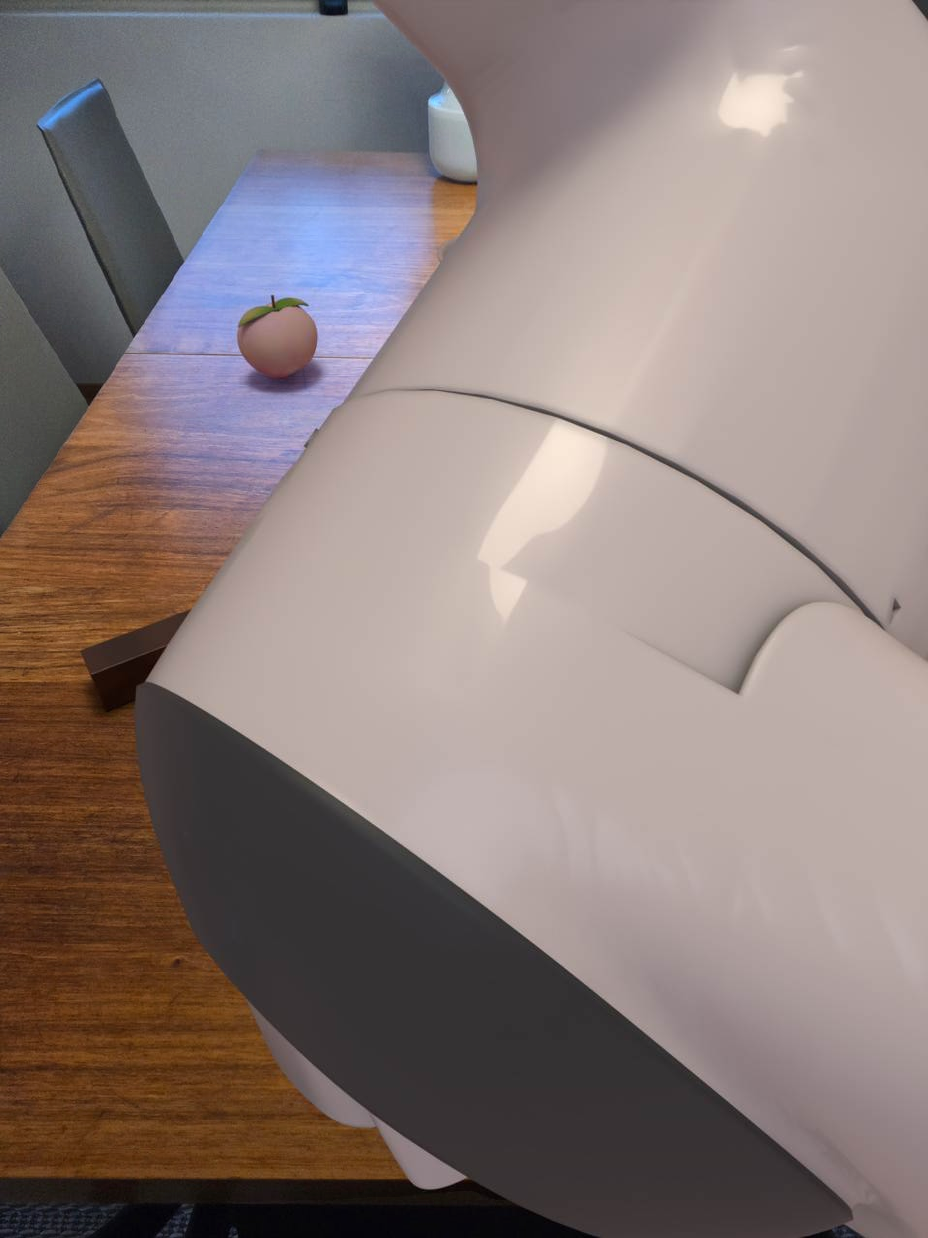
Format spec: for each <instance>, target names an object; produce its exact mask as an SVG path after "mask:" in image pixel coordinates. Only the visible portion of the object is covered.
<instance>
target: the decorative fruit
mask: <svg viewBox="0 0 928 1238" xmlns="http://www.w3.org/2000/svg"><path fill="white" fill-rule="evenodd" d="M270 299H271V302H269V303H266V305H259V306H254V307H251V308H250V309H248V310H247V311H245V313H244V314H243V315H242V317H241V318H240V320H239V322H238V325H237V328H238V329H237V331H236V332H237V333H236V342H237V345H238V349H239V352H240V354H241V355H242V357H243V359H244V360H245V361H246V363H247V364H248V365H250V366H251V368H253V369H254V370H256V371H257V372H258V373H260V374H263V375H264V376H267V377H270V378H275V379H287V377H288V376H290V375H292V374H294V373H297V372H299V371H300V370H302V369H303V368H305V367H306V366H307V365H308V364H310V362H311V361H312V359H313V358H314V356H315V354H316V351H317V347H318V340H319V339H318V338H319V337H318V328H317V326H316V325H317V324H316V323H315V321H314V319H313V318H312V317H311V316H310V314H309V313H308V312H307V311H306V310H305V309H303V308H302V306H304V307H310V305H309V304H308V303H307V302H306V301H304V300H302V299H300V298H297V297H283V298H280V299H278V300H275V295H274V294H271V295H270Z"/></svg>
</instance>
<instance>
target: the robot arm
mask: <svg viewBox="0 0 928 1238" xmlns="http://www.w3.org/2000/svg"><path fill="white" fill-rule="evenodd" d="M370 2H371V3H372V4H373V5H374V6H375V7H376V8H377V9H378V10H379V11H380V13H382V15H383V16H384V17H386V19H387V20H388V21H389V22H390V23H391V24H392V25H393V26H394V27H395V29H396V30H397V31H398V32H399V33H400V34H401V35H402V36H403V37H404V38H405V39H406V40H407V41H408V42H409V43H410V44H411V46H413V48H414V49H415V50H416V51H417V52H418V53H419V54H420V55H421V56H422V57H423V58H424V59H425V60H426V62H427V63H429V64H430V65H431V66H432V68H433V69H434V70H435V71H436V72H437V74H438V75H439V76H440V77H441V78H442V79H443V80H444V82H445V83H446V85H447V86H448V88H449V89H450V90H451V91H452V93H453V95H454V97H455V99H456V101H457V102H458V105H460V108H461V110H462V113H463V115H464V117H465V119H466V123H467V125H468V128H469V132H470V136H471V139H472V145H473V150H474V155H475V162H476V176H477V177H476V180H477V182H476V184H477V187H476V195H475V208H474V212H473V214H472V216H471V218H470V219H469V221H468V222H467V224H466V225H465V226H464V228H463V229H462V231H461V233H460V234H459V235H458V236H459V237H458V236H457V237H458V238H457V240H456V241H455V243H454V244H453V245H452V247H451V248H450V250H449V251H448V253H447V254H446V255H445V257H444V258H443V260H442V261H441V263H440V262H439V264H438V266H437V267H436V268H435V270H434V271H433V273H432V274H431V275H430V277H429V278H428V280H427V281H426V283H425V284H424V286H423V287H422V288H421V290H420V292H419V293H418V294H417V296H416V297H415V298H414V300H413V301H412V303H411V304H410V305H409V307H408V309H407V310H406V311H405V313H404V314H403V315H402V317H401V318H400V320H399V321H398V323H397V324H396V326H395V327H394V329H393V330H392V331H391V333H390V334H389V336H388V337H387V339H386V340H385V341H384V343H383V344H382V345H381V347H380V349H379V350H378V352H377V353H376V355H375V356H373V358H372V361H371V362H370V363H369V365H368V366H367V367H366V368H365V370H364V372H362V374H361V376H360V378H359V379H358V380H357V381H356V383H355V384H354V386H353V388H352V389H351V390H350V391H349V393H348V394H347V396H346V398H344V400H343V402H341V404H340V405H338V406H336V407H334V408H333V409H332V410H331V411H330V413H329V414H328V415H327V417H326V418H325V420H324V421H323V423H322V424H321V426H320V427H319V429H318V428H317V427H316V428H315V429H314V431H313V432H312V433H311V435H310V436H309V437H308V439H307V441H306V442H305V443H304V445H303V447H304V448H305V449H304V450H303V451H302V453H301V454H300V455H299V457H298V459H297V460H296V461H295V462H294V463H292V465H291V466H290V467H289V469H288V470H287V471H286V473H285V474H284V475H283V476H282V478H281V479H280V480H279V482H278V483H277V484H276V485H275V488H274V489H273V490H272V491H271V493H270V494H269V496H268V497H267V499H266V501H264V503H263V505H262V506H261V508H260V509H259V510H258V512H257V513H256V515H255V516H254V518H252V520H251V522H250V524H249V525H248V527H247V528H246V530H245V531H244V533H243V534H242V535H241V537H240V538H239V540H238V541H237V542H236V544H235V546H234V547H233V548H232V550H231V551H230V553H229V554H228V556H227V557H226V558H225V560H224V561H223V563H222V565H220V567H219V569H218V570H217V572H216V573H215V574H214V576H213V577H212V579H211V580H210V582H209V583H208V584H207V586H206V587H205V589H204V590H203V592H202V593H201V594H200V596H199V598H197V600H196V601H195V603H194V604H193V606H192V608H190V609H191V611H190V612H189V614H188V615H187V617H186V618H185V620H184V621H183V623H182V624H181V626H180V627H179V629H178V630H177V632H176V633H175V635H174V636H173V638H172V639H171V641H170V642H169V644H168V645H167V647H166V649H165V650H164V652H163V653H162V655H161V657H160V658H159V660H158V661H157V663H156V665H155V666H154V668H153V669H152V671H151V673H150V674H149V676H148V678H147V679H146V681H145V682H144V683H142V684H140V685H138V686H136V700H134V740H135V747H136V756H137V765H138V771H139V774H140V781H141V786H142V791H143V795H144V799H145V802H146V803H145V804H146V806H147V810H148V813H149V818H150V821H151V824H152V828H153V831H154V834H155V837H156V840H157V843H158V846H159V848H160V852H161V855H162V858H163V860H164V863H165V866H166V868H167V871H168V874H169V876H170V879H171V882H172V883H173V886H174V889H175V891H176V894H177V896H178V899H179V901H180V904H181V906H182V909H183V911H184V914H185V916H186V919H187V922H188V924H189V926H190V928H191V931H192V932H193V934H194V935H195V937H196V939H197V940H198V942H199V943H200V945H201V946H202V948H203V949H204V950H205V951H206V953H207V954H208V956H209V957H210V958H211V959H212V961H213V962H214V963H215V964H216V966H217V967H218V968H219V969H220V970H221V972H222V973H223V974H224V975H225V977H226V978H227V979H228V980H229V981H230V982H231V984H233V985H234V987H235V988H236V989H237V990H238V991H239V992H240V993H241V995H242V996H244V998H245V1001H246V1003H247V1005H248V1008H249V1010H250V1012H251V1014H252V1017H253V1018H254V1021H255V1023H256V1025H257V1027H258V1029H259V1032H260V1034H261V1036H262V1038H263V1040H264V1042H265V1044H266V1047H267V1048H268V1050H269V1052H270V1054H271V1056H272V1057H273V1060H274V1062H275V1063H276V1064H277V1066H278V1067H279V1069H280V1071H282V1073H283V1074H284V1075H285V1077H286V1078H287V1079H288V1081H290V1083H291V1084H292V1085H293V1086H294V1087H295V1089H297V1091H299V1093H300V1094H301V1095H302V1096H303V1097H304V1098H305V1099H306V1100H307V1101H308V1102H309V1103H311V1104H312V1105H313V1106H314V1107H316V1109H317V1110H319V1111H320V1112H321V1113H322V1114H323V1115H325V1116H326V1117H328V1118H330V1119H331V1120H333V1121H335V1122H337V1123H339V1124H342V1125H344V1126H348V1127H353V1128H363V1129H366V1128H369V1129H372V1128H373V1129H374V1128H376V1129H377V1131H378V1133H379V1134H380V1136H381V1139H383V1141H384V1143H385V1144H386V1146H387V1148H388V1150H389V1151H390V1153H391V1155H392V1156H393V1158H394V1160H395V1161H396V1162H397V1164H398V1166H399V1168H400V1169H401V1171H402V1172H403V1174H404V1175H405V1176H406V1178H407V1179H408V1181H409V1182H410V1183H412V1185H413V1186H415V1187H417V1188H419V1189H422V1190H438V1189H442V1188H446V1187H449V1186H452V1185H454V1184H456V1183H459V1182H462V1181H463V1180H465V1179H470V1180H471V1181H473V1182H474V1183H476V1184H479V1185H480V1186H481V1187H484V1189H485V1188H486V1189H487V1190H489V1191H491V1192H492V1193H495V1194H497V1195H499V1196H500V1197H502V1198H504V1199H506V1200H507V1201H510V1202H511V1203H513V1204H514V1205H515V1204H516V1205H517V1206H519V1207H521V1208H524V1209H526V1210H528V1211H530V1212H532V1213H535V1214H536V1215H539V1216H541V1217H543V1218H546V1219H548V1220H550V1221H553V1222H555V1223H557V1224H560V1225H563V1226H566V1227H567V1228H571V1229H574V1230H576V1231H579V1232H581V1233H584V1234H586V1235H590V1236H593V1237H597V1238H805V1237H809V1236H814V1235H816V1234H820V1233H822V1232H826V1231H829V1230H833V1229H835V1228H838V1227H841V1226H842V1225H844V1226H846V1227H848V1228H849V1229H851V1230H853V1231H854V1232H855V1233H857V1234H859V1235H861V1236H862V1237H863V1238H928V0H370Z"/></svg>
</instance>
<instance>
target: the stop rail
mask: <svg viewBox="0 0 928 1238" xmlns="http://www.w3.org/2000/svg"><path fill="white" fill-rule="evenodd" d="M191 609H192V608H190V609H187V610H185V611H182V612H180V613H176V614H174V615H171V616H169V617H166V618H163V619H161V620H158V621H156V622H153V623H150V624H148V625H145V626H141V627H140V628H139V627H138V628H136V629H133V630H131V631H129V632H125V633H123V634H121V635H118V636H117V635H116V636H115V637H112V638H109V639H107V640H104V641H101V642H99V643H96V644H94V645H91V646H87V647H86V648H83V649H80V654H81V657H82V659H83V661H84V664H85V666H86V668H87V672H88V673H89V676H90V678H91V680H92V683H93V686H94V688H95V690H96V693H97V695H98V696H99V699H100V701H101V703H102V706H103V709H104V711H106V712H108V711H111V710H113V709H116V708H119V707H121V706H124V705H126V704H128V703H130V702H133V701H135V700H136V686H138V685H140V684H142V683H144V682H145V681H146V679H147V678H148V676H149V674H150V673H151V671H152V669H153V668H154V666H155V665H156V663H157V661H158V660H159V658H160V657H161V655H162V653H163V652H164V650H165V649H166V647H167V645H168V644H169V642H170V641H171V639H172V638H173V636H174V635H175V633H176V632H177V630H178V629H179V627H180V626H181V624H182V623H183V621H184V620H185V618H186V617H187V615H188V614H189V612H190V611H191Z"/></svg>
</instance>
